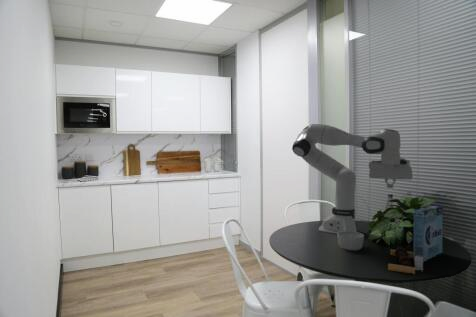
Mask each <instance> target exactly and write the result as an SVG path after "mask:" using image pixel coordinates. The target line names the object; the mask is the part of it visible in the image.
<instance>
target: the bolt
mask: <svg viewBox="0 0 476 317" xmlns="http://www.w3.org/2000/svg"><path fill="white" fill-rule="evenodd" d="M395 250H396V251H395V252H394V253H395V255H396V256H395V257H396V258H397V259H398V261H399V263H400V265H402V266H409V267H412V260H411V258H409V257H408V255H409V254H408V253H407V252H408V251H407V249H406V248H405V247H396V249H395Z"/></svg>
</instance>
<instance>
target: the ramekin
mask: <svg viewBox="0 0 476 317" xmlns="http://www.w3.org/2000/svg"><path fill="white" fill-rule="evenodd" d="M336 236H337V242H338V246H339V248H341V249H343V250H346V251H359V250H361V249H362V248H363V244H364V240H365V235H364V234H363V233H361V232H359V231H357V232H354V231H341V232H338V233H337V234H336Z"/></svg>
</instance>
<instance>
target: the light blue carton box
mask: <svg viewBox="0 0 476 317" xmlns="http://www.w3.org/2000/svg"><path fill="white" fill-rule="evenodd" d="M443 208H444V207H443V206H437V205H431V206H427V207H423V208H418V209H415V210H413V248H414V247H420V248H422V252H423V263H424V262H427V261H428V259H429V260H431V259H433V258H435V257H437V256H436V255H438V254H440V253H442V254H443V217H444V216H443V213H444V212H443ZM412 252H413V258H412V259H413V260H414V251H412ZM440 255H441V254H440ZM434 256H435V257H434ZM438 256H439V255H438ZM432 257H433V258H432ZM430 258H431V259H430Z"/></svg>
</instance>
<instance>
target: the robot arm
mask: <svg viewBox="0 0 476 317" xmlns="http://www.w3.org/2000/svg"><path fill="white" fill-rule="evenodd" d="M316 144H321V145H324V146H331V147H334V146H350V147H351V146H352V147H357V148H362V151H364V153H366V154H369V155H380V154H381V157H380V158H381V159H380V160H371V161H369V163H368V168H369V171H368V173H369V175H368V177H369V178H370V179H381V180H382V179H384V182H385V184H386V188H392V189H393V188H394V185H395V183H396V181H397V180H406V181H407V180H410V181H411V180H412V179H413V169H412V167H411V164H410V163H411V161H410V159H406V158H402V157H401V151H400V149H401V135H400V132H398V130H395V129H388V128H384V129H382V130H381V131H380V132H378V133H375V134H373V135H369V136H361V135H357V134H352V133H349V132H347V131H345V130H343V129H340V128H338V127H335V126H331V125H327V124H321V123H311V124H310V125H307V126H306V127H304V128H303V129H302V131H301V132H300V133H299V134H298V136H297V137H296V139H295V141H294V142H293V145H292V148H291V149H292V152H293V153H294V154H295V155H296V156H298V157H301V158H302V160H304V161H305V162H306V163H307V164H308V165H310V166H311V167H312V168H314V169H316V170H317V171H318V172H320V173H322V174H323V175H325V176H326V177H327V178H330V179H331V180H333V181H334V182H335V199H334V200H335V201H334V202H335V206H333V207H332V209H331V214H329V215H327V216H326V217H325V218H324V219H323V221H322V224H321V225H320V226H319V227H318V232H319V231H320V232H323V233H330V234H336V235H337V233H338V232H341V231H354V232H358V231H357V227H356V221H355V218H356V209H355V193H356V181H357V178H356V173H355V172H354V171H353V170H352V169H350V168H348V167H347V166H345V165H344V164H342V162H341V163H340V162H339V161H338V160H336V159H334V158H333V157H331V156H330V155H328V154H327V153H325V152H323V151H322V150H321V149H319V148H318V147H317V146H316ZM389 180H392V183H389V182H388V181H389Z"/></svg>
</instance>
